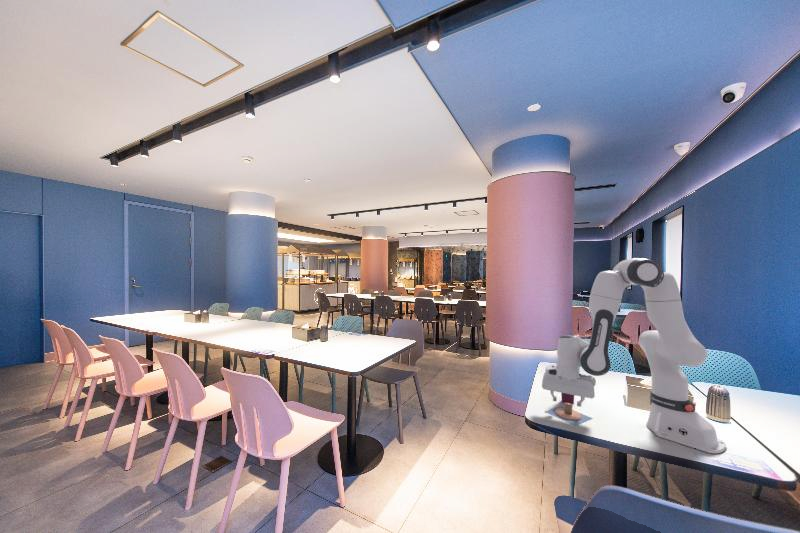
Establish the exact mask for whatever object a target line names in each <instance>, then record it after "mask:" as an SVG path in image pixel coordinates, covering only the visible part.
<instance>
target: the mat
mask: <svg viewBox="0 0 800 533" xmlns="http://www.w3.org/2000/svg"><path fill="white" fill-rule="evenodd" d="M557 408H564V405H559V406H557V407H553V408H550V409H548V410H545V411H544V413H546V414H549V415H551V416H553V417H555V418H557V419H559V420H561V421H564V422H566V423H569V424H570V425H573V426H575V427H576V426H579V425H580V424H583V423H586V422H588V421H590V420H593V419H594V418H593V417H591V416H588V415H585V414H583V413H581V412H578V411H577V412H578V413H580V414H581V419H580V420H577V421H574V420H567V419H564V418H561V417H559V416H558V415H557V414H556V413H555V410H556V409H557Z"/></svg>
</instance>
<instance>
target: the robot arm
mask: <svg viewBox="0 0 800 533" xmlns="http://www.w3.org/2000/svg"><path fill="white" fill-rule="evenodd" d="M628 286H640V287H641V288H642V290H643V292H644V302H645V307H646V314H647V319H648V320H649V322H650V323H651V324H653V326H654V328H656V329H654V330H653V329H652V330H646V331H643V332H642V333H641V334H640V335H639V336H638V345H639V346H640V348H641V349H642V351H643V353H644V354H645V357H646V358H647V362H648V365H649V369H650V375H651V391H650V394H649V402H650V403H649V404H650V411H649V415H648V419H647V422H646V424H645V425H646V427H647V428H648V429H650V430H651V431H652V432H653V433H654V434H655V435H656V436H657V437H659V438H660V439H664V440H665V439H666V440H668V441H671V442H674V443H677V444H680V445H683V446H686V447H690V448H694V449H695V448H696V449H695V450H699V451H702V452H704V453H709V454H720V453H723V452H725V450H726V449H727V446H726V442H725V441H723V439H719V438H718V435H717V431H716V429H715V427H714V425H713V424H712V423H710V422H709V421H708V420H707V419H705V418H704V417H703V416H702V415H700V414H699V413H698V412H697V411H696V406H697V402H696V401H695V402H693V401H692V400H691V399H689V378H688V377H687V375H686V374H685V372H683V370H682V368H681V366H682V367H690V368H691V367H692V368H696V367H700V366H701V365H703V364H705V362H706V360H707V358H708V353H707V352H708V351H707V350H706V347H705V346H704V345H703V344H702V343H701V342H700V341H699V340H698V339H697V338H696V337H695V335H694V334H693V332H692V330H691V329H690V328H689V325H688V323H687V321H686V319H685V315H684V309H683V303H682V298H681V293H680V288H679V286H678V283H677V279H676V278H675V276H674V274H671V273H669V272H666V271H663V270H662V269H661V266H660V265H659V264H658V263H657V262H655V261H654V260H652V259H648V258H644V257H640V258H639V257H633V258H628V259H627V258H626V259H622V260H620V261H618V262H616V263H615V264H614V265H613V266H612V267H611V269H610V270H603V271H600V272H599V273H598V274H597V275H596V277H595V279H594V281H593V284H592V287H591V290H590V294H589V299H588V303H589V304H588V309H589V310H588V311H589V313H590V316H591V320H592V330H591V334H590V340H589V342H588V341H586V340H585V339H582V338H581V337H580V336H579V335H577V334H572V333H571V334H562V335H561V336H560V337H559V338H558V341H557V348H556V350H557V351H556V354H557V361H556V364H552V365H547V366H545V372H544V373H543V377H542V380H541V388H542V389H543V390H545V391H549V392H550V395H551V397H552V401H553V402H557V400H558V399H557V396H556V395H555V394H554V393H555V392H557V393H560V394H561V393H566V394H571V395H574V396H577V397H580V400H577V401H576V402H577V404H576V406H577V407H580V408H581V407H582V403H583V402H584V401H585V398H586V399H591V400H592V399H594V398H595V397H596V396H595V393H596V392H595V386H596V378H595V377H600V376H604V375H606V374H608V372H609V371H610V369H611V364H612V363H611V360H610V357H609V345H610V340H611V335H612V330H613V326H614V323H615V320H616V318H617V315H618V313H619V309H620V307H621V303H622V300H623V299H622V298H623V294H624V291H625V290H626V288H627V287H628ZM580 366H581V368H582V369H583V371H584V372H585V373H587V374H584V373H580V369H581V368H580Z"/></svg>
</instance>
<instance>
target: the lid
mask: <svg viewBox="0 0 800 533" xmlns="http://www.w3.org/2000/svg"><path fill="white" fill-rule="evenodd" d="M563 404H564V405H563V406H564V408H557V409H556V410H555V413H556V414H557V415H558V416H559V417H561V418H564V419H567V420H574V421H577V420H580V419H581V414H582V413H581V412H579V413H578V411H576V410H574V409H573V404H571V403H567V402H565V403H563ZM580 413H581V414H580Z"/></svg>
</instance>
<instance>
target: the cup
mask: <svg viewBox="0 0 800 533" xmlns="http://www.w3.org/2000/svg"><path fill="white" fill-rule="evenodd" d="M560 395H561V396H560V397H561V402H562V403H563V404H564V403H565V402H567V403H571V404H572V405H574V404H575V395H571V394H566V393H561V392H560Z"/></svg>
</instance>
